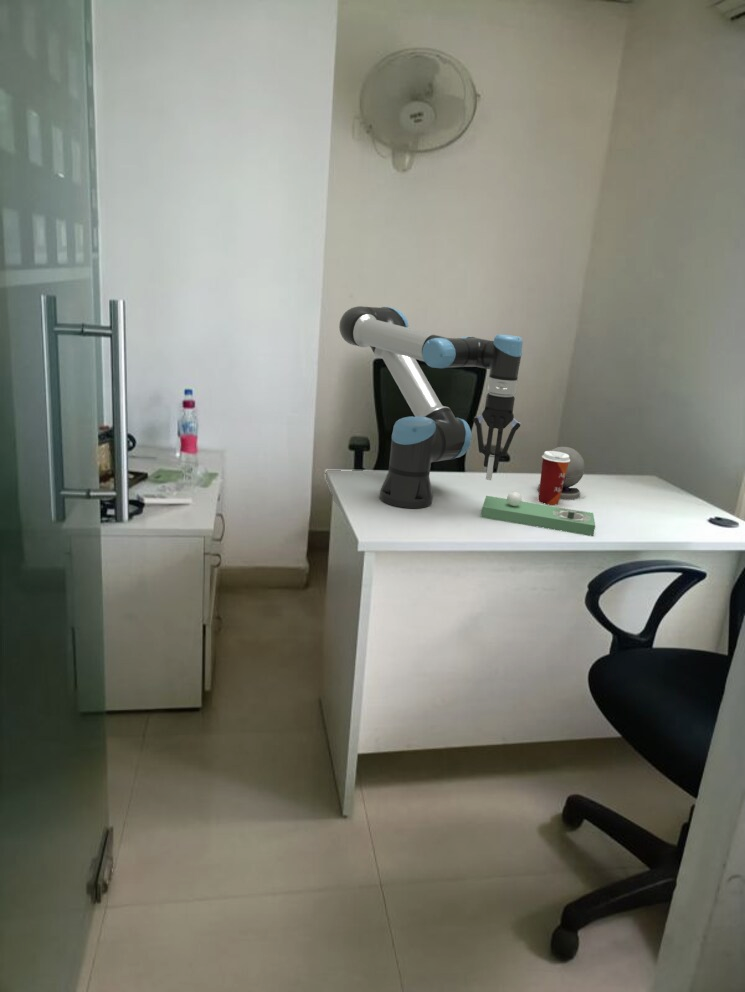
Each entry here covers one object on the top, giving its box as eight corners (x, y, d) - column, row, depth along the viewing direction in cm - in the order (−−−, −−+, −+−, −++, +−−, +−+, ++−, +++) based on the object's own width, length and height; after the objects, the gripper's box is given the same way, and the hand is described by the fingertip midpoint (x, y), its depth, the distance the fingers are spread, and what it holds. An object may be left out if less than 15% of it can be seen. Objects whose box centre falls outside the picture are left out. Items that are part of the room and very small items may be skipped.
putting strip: (481, 517, 194) (482, 506, 193) (484, 505, 205) (486, 495, 204) (593, 536, 188) (595, 525, 187) (591, 522, 199) (593, 512, 198)
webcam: (584, 493, 226) (593, 448, 221) (571, 502, 215) (581, 455, 211) (545, 484, 232) (553, 440, 227) (531, 492, 222) (539, 446, 217)
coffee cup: (562, 507, 209) (571, 459, 205) (534, 503, 211) (543, 455, 206) (561, 499, 217) (570, 452, 213) (534, 495, 219) (542, 448, 214)
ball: (505, 506, 196) (507, 493, 194) (506, 502, 199) (508, 489, 198) (519, 509, 195) (522, 495, 193) (520, 504, 198) (522, 491, 197)
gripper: (475, 393, 187) (463, 478, 194) (525, 399, 184) (511, 485, 191) (478, 389, 194) (467, 471, 201) (526, 395, 191) (513, 478, 198)
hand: (488, 478), depth 196 cm, fingers closed
